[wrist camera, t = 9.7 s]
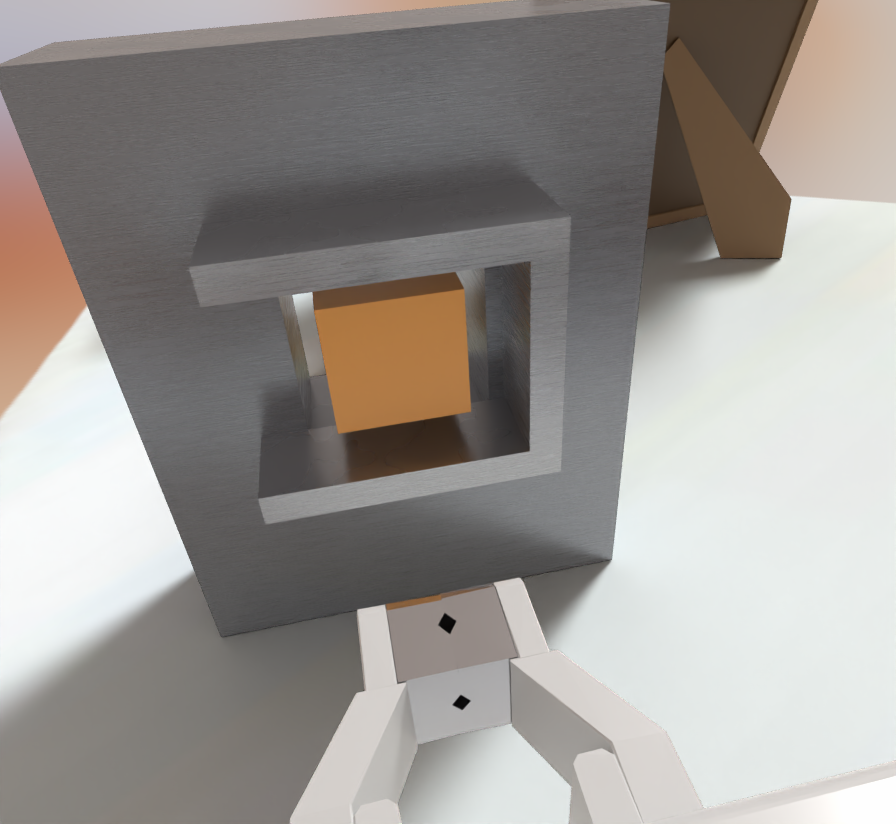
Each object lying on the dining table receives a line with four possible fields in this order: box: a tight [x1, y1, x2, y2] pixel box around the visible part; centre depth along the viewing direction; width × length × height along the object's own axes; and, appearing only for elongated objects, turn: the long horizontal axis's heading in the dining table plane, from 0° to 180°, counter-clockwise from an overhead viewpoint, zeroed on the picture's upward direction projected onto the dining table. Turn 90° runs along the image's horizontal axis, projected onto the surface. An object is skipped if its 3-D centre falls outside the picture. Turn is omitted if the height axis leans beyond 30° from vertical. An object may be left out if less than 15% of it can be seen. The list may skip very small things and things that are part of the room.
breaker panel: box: [0, 0, 670, 637], centre depth 23 cm, size 16×8×20 cm, turn 101°
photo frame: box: [647, 0, 818, 258], centre depth 49 cm, size 15×22×25 cm
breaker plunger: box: [313, 272, 471, 434], centre depth 23 cm, size 4×10×4 cm, turn 11°
